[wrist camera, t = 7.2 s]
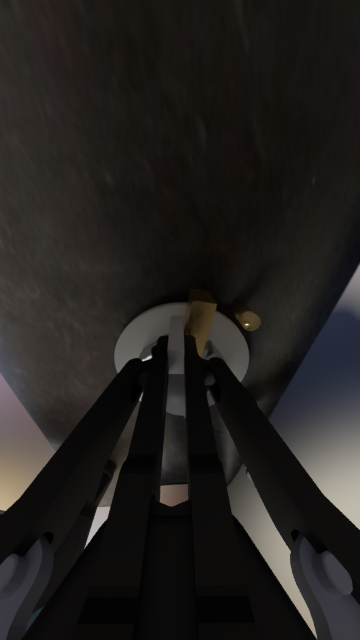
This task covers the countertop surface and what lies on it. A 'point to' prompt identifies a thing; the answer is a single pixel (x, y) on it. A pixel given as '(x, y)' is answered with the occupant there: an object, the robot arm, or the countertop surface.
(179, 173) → the countertop surface
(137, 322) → the housing
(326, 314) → the countertop surface
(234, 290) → the countertop surface
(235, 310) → the stop pin
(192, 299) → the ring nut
